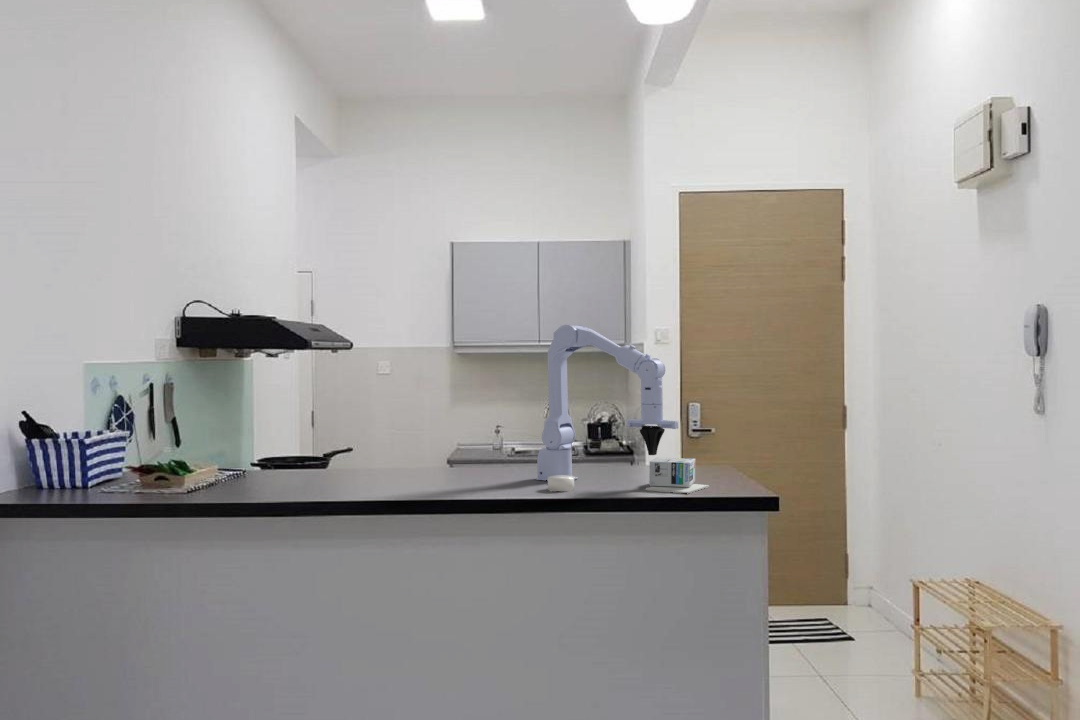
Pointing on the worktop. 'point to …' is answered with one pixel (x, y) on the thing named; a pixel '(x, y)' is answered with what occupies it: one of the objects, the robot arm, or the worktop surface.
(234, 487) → the worktop surface
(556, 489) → the pale rounded bar
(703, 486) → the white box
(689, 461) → the light bulb box
